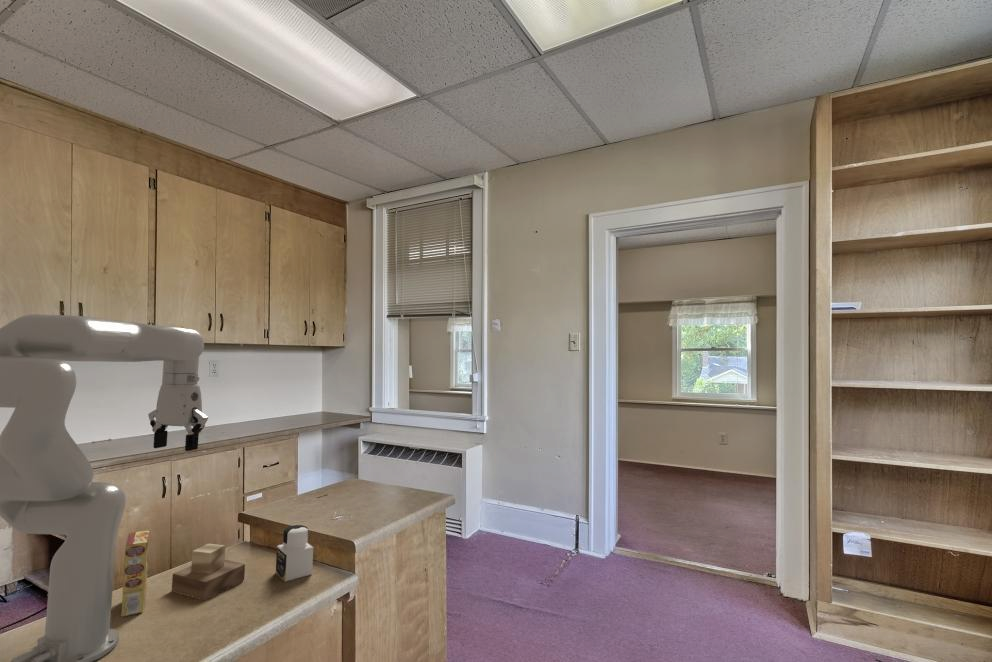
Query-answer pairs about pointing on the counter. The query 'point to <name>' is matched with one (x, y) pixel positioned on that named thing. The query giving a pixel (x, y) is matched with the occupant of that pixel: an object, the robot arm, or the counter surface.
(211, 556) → the maple cube
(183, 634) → the counter surface
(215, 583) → the walnut block
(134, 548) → the candy box
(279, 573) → the medicine bottle
